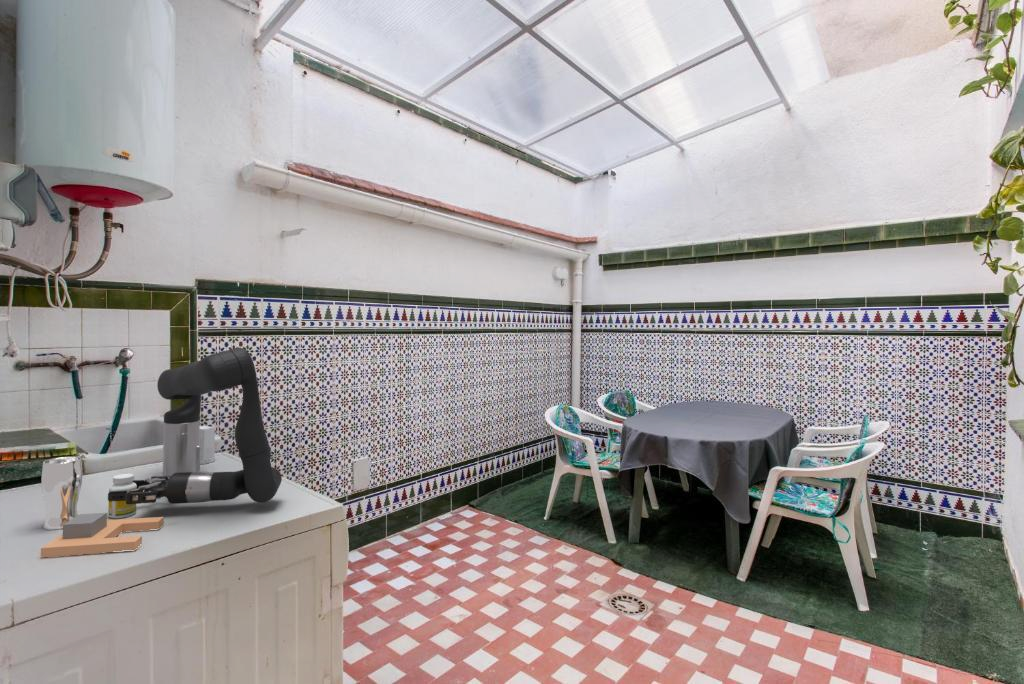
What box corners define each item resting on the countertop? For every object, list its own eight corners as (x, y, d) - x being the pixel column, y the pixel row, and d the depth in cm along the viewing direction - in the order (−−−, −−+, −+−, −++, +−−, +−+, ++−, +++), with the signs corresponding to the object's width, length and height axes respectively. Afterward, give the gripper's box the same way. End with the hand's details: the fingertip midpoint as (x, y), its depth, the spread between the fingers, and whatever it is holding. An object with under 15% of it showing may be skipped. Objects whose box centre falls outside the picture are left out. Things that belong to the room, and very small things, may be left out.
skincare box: (215, 461, 170) (215, 427, 170) (203, 464, 166) (204, 429, 166) (201, 459, 172) (202, 425, 172) (190, 462, 168) (191, 427, 168)
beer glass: (46, 533, 109) (47, 465, 109) (36, 526, 113) (37, 460, 112) (86, 523, 115) (87, 459, 115) (75, 517, 119) (76, 454, 118)
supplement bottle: (102, 518, 118) (103, 478, 118) (121, 510, 124) (121, 472, 123) (124, 519, 118) (124, 479, 118) (141, 511, 123) (142, 473, 123)
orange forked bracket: (163, 525, 115) (164, 503, 115) (135, 551, 102) (135, 527, 102) (81, 530, 111) (82, 508, 111) (40, 558, 98) (41, 533, 98)
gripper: (203, 465, 131) (132, 467, 127) (183, 480, 118) (102, 484, 113) (202, 493, 132) (131, 496, 127) (182, 512, 118) (101, 516, 114)
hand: (117, 490), depth 120 cm, fingers open, 8 cm apart
